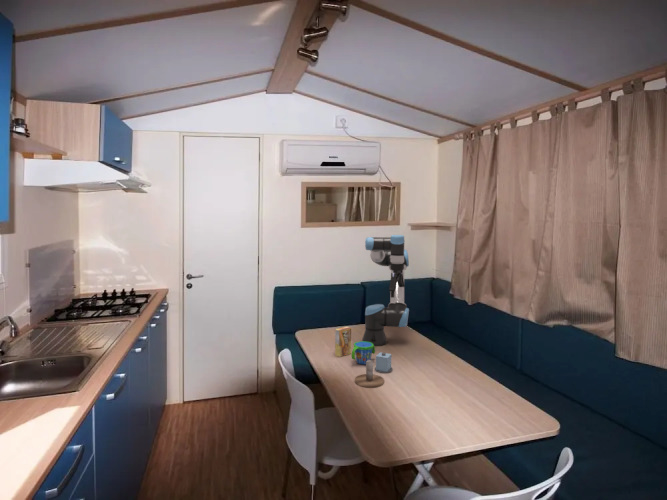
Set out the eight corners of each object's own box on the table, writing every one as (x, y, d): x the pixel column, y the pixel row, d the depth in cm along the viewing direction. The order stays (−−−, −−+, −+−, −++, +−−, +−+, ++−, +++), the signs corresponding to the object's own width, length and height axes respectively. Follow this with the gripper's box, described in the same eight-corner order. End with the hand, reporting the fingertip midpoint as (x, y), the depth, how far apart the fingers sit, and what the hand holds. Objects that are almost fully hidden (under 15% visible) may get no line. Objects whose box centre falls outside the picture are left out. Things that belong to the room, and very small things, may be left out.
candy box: (346, 351, 231) (346, 326, 230) (351, 353, 228) (351, 327, 227) (334, 355, 226) (334, 328, 224) (339, 357, 222) (339, 330, 221)
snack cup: (368, 356, 223) (368, 339, 223) (380, 362, 215) (381, 344, 214) (345, 362, 215) (345, 344, 214) (357, 368, 206) (357, 349, 205)
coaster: (371, 369, 206) (371, 367, 205) (384, 365, 211) (384, 364, 210) (382, 374, 198) (382, 373, 198) (396, 370, 203) (396, 369, 203)
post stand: (348, 379, 192) (349, 360, 191) (371, 373, 200) (371, 354, 199) (367, 390, 180) (367, 369, 180) (390, 383, 188) (390, 362, 187)
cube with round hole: (379, 365, 208) (379, 350, 208) (391, 367, 206) (391, 352, 205) (375, 369, 203) (375, 354, 202) (387, 371, 200) (387, 356, 199)
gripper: (397, 260, 233) (396, 295, 235) (383, 265, 211) (382, 304, 213) (409, 260, 230) (409, 296, 232) (396, 266, 208) (396, 305, 210)
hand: (396, 300), depth 222 cm, fingers open, 13 cm apart
